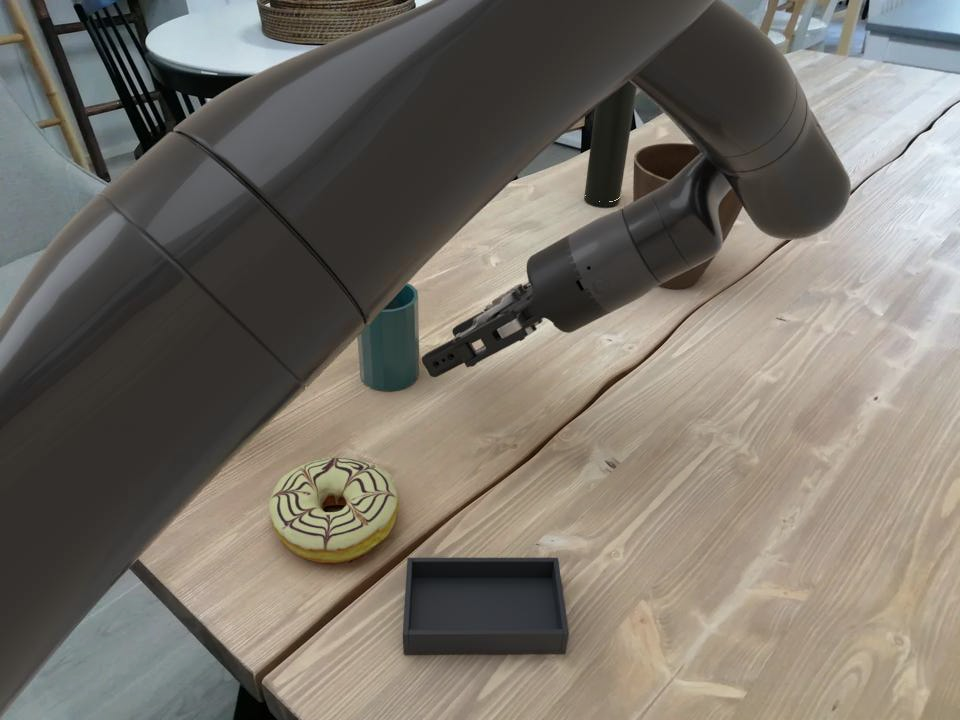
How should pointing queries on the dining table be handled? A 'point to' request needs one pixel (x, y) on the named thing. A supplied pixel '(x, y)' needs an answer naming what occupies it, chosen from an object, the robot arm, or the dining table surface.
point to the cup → (392, 344)
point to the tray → (484, 606)
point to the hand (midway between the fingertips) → (443, 352)
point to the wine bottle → (609, 147)
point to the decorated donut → (334, 532)
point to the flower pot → (661, 167)
